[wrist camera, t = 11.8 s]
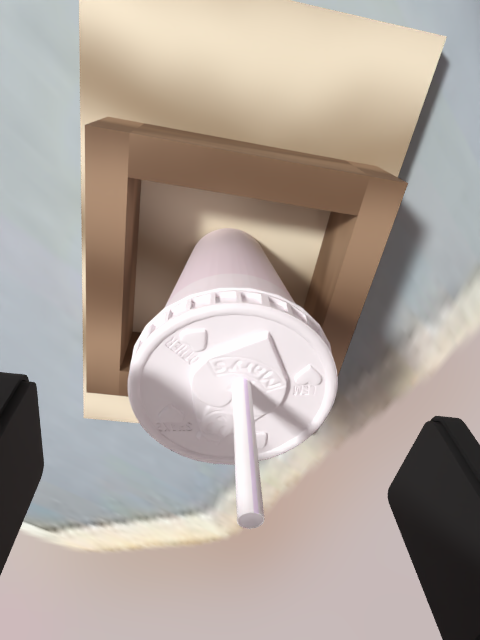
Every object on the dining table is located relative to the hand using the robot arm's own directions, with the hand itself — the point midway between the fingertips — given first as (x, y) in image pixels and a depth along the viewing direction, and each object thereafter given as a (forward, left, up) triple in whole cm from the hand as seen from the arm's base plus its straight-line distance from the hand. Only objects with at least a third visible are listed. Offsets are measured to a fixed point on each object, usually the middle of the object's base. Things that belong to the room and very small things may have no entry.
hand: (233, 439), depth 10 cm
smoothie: (0, 0, -12) cm, 12 cm away
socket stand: (+1, 0, -13) cm, 13 cm away
